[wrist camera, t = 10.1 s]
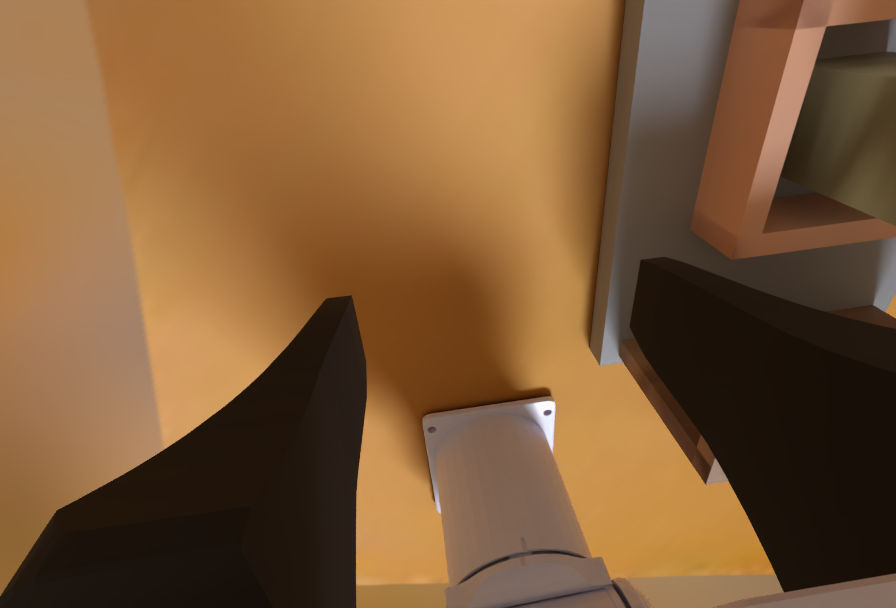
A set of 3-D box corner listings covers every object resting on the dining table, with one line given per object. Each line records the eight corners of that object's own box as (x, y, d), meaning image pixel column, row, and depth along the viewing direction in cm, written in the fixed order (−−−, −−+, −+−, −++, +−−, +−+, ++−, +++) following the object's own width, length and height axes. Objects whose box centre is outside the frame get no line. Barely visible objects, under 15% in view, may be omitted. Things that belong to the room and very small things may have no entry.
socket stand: (855, 310, 27) (931, 359, 23) (589, 348, 26) (624, 405, 23) (1046, -89, 17) (1229, -115, 14) (630, -47, 17) (703, -63, 13)
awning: (865, 320, 26) (1036, 430, 19) (619, 356, 25) (705, 484, 18) (911, 228, 23) (1133, 321, 16) (632, 265, 22) (742, 380, 15)
